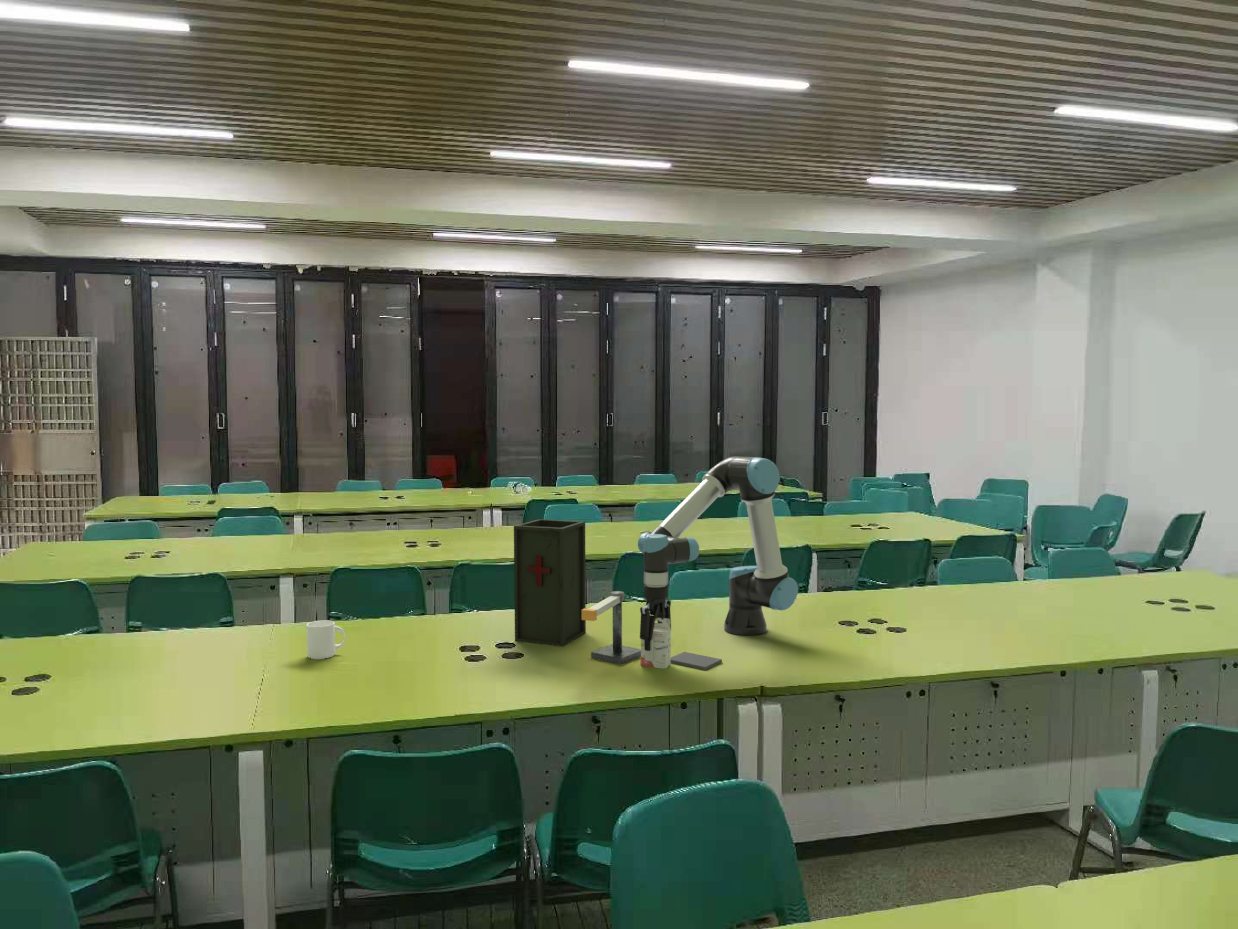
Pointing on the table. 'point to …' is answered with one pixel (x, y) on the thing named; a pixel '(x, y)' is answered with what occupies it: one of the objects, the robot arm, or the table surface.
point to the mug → (322, 639)
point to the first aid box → (549, 581)
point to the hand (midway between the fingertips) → (655, 657)
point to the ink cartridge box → (659, 645)
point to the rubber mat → (695, 660)
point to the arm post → (617, 643)
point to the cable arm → (602, 606)
